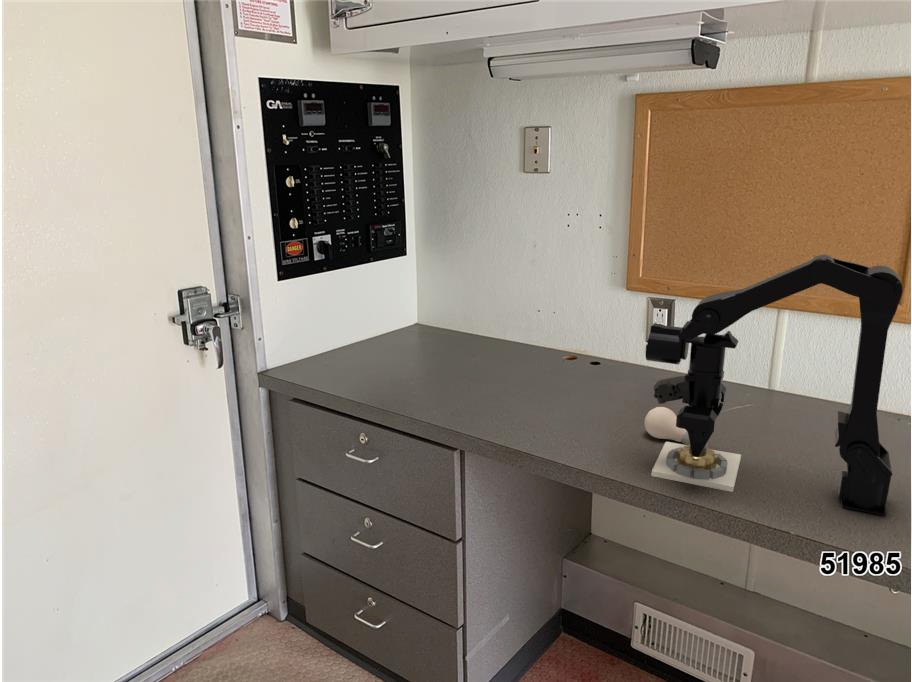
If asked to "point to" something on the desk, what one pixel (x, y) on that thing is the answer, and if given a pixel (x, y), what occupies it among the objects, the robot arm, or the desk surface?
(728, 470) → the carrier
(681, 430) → the light bulb
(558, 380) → the desk surface
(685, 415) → the robot arm
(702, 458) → the planet gear
